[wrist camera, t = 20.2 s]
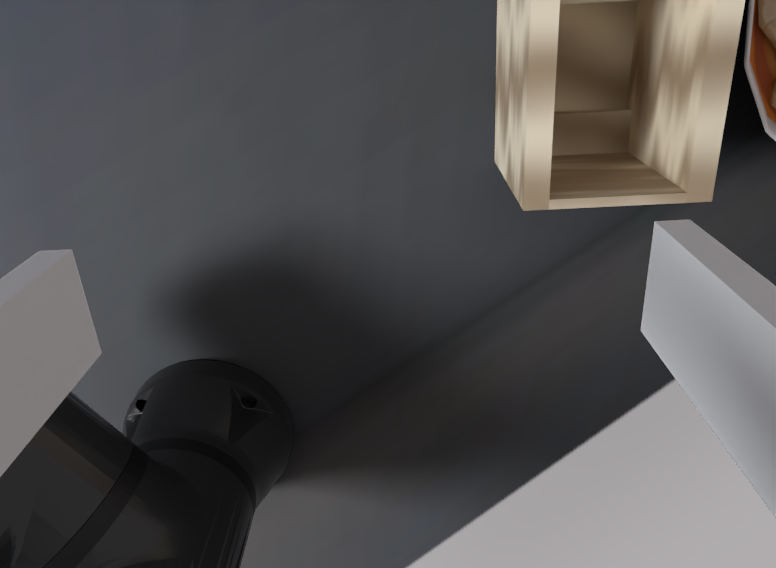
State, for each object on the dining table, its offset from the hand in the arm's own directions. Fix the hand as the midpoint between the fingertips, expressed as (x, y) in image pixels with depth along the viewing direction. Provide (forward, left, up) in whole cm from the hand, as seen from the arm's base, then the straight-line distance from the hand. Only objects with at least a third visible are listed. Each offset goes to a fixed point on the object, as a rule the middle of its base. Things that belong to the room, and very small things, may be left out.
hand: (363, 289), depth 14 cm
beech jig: (+6, -14, -35) cm, 38 cm away
